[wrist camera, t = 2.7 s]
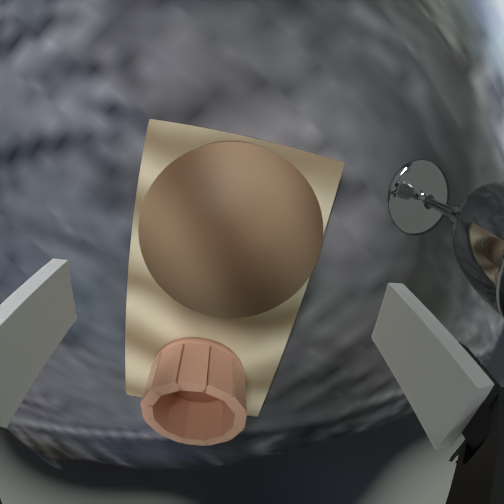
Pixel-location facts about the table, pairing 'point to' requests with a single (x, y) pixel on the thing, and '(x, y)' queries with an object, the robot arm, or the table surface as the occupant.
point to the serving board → (191, 322)
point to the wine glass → (455, 223)
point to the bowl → (196, 392)
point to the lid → (230, 229)
